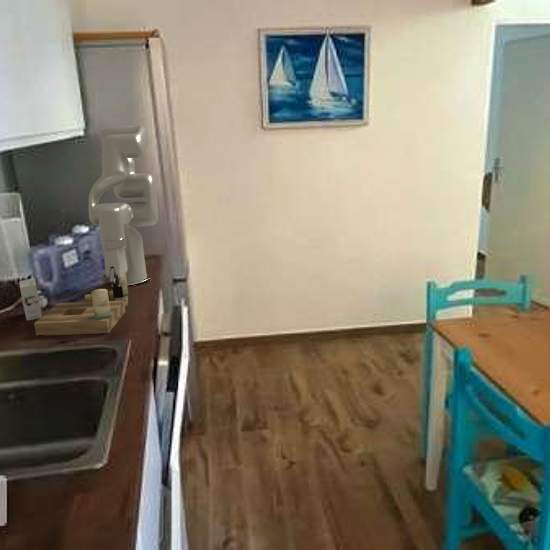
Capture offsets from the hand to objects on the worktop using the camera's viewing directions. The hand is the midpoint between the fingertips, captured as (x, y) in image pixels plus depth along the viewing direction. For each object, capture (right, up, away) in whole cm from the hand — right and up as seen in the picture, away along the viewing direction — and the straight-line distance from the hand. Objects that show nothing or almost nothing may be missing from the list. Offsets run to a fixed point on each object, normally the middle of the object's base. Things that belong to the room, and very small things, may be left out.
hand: (121, 294), depth 178 cm
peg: (0, -4, +1) cm, 4 cm away
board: (-8, -9, -14) cm, 18 cm away
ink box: (-28, -7, -5) cm, 29 cm away
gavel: (-11, -2, +11) cm, 15 cm away
